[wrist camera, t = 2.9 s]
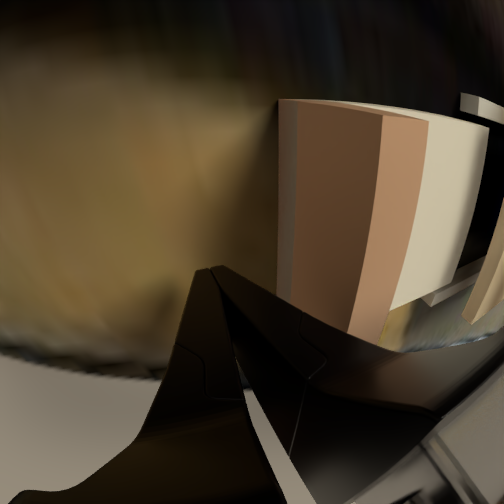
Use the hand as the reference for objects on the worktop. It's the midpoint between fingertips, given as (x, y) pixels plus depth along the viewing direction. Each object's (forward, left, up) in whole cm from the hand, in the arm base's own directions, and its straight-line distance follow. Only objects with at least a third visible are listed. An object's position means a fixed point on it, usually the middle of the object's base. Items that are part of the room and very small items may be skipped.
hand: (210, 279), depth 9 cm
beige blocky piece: (-9, 0, -2) cm, 9 cm away
